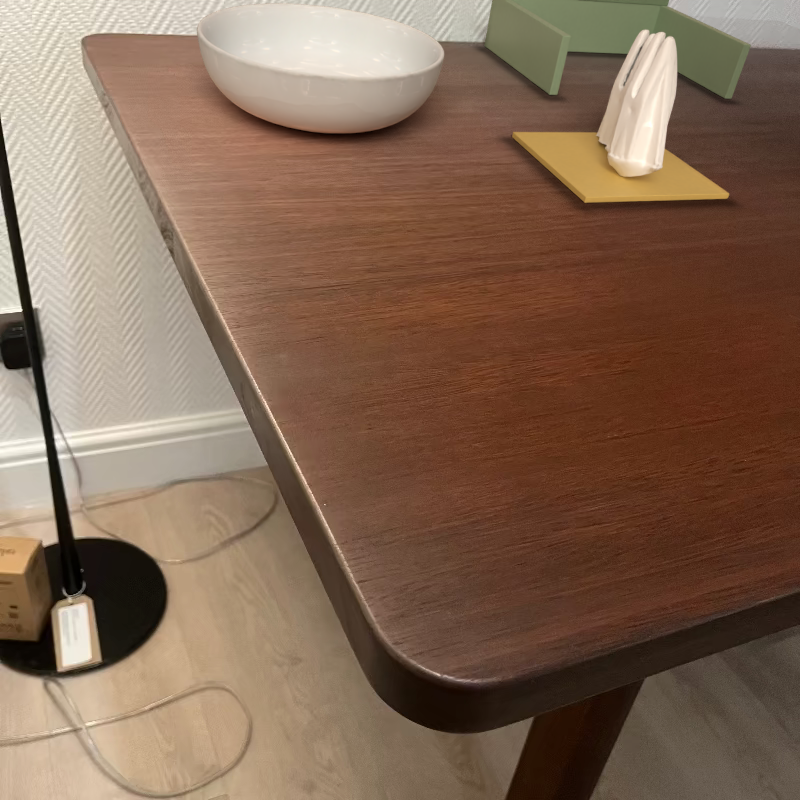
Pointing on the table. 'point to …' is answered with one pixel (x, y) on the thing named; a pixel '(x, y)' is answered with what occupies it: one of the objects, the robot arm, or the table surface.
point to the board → (613, 171)
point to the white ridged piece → (641, 106)
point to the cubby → (608, 38)
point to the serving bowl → (319, 65)
